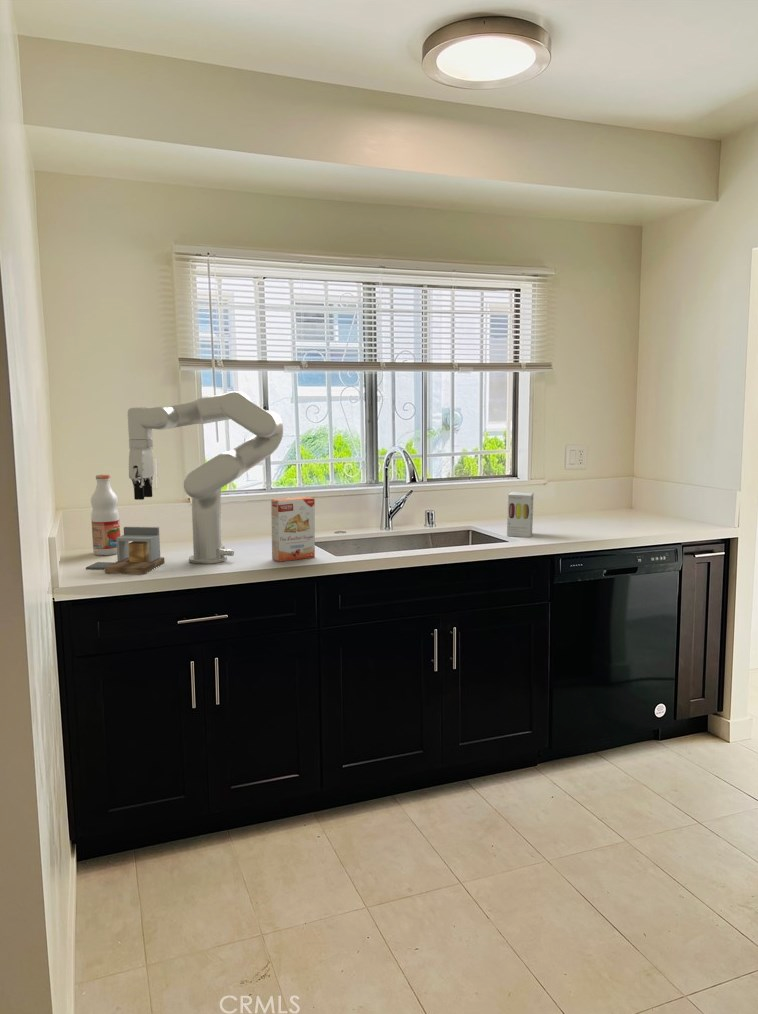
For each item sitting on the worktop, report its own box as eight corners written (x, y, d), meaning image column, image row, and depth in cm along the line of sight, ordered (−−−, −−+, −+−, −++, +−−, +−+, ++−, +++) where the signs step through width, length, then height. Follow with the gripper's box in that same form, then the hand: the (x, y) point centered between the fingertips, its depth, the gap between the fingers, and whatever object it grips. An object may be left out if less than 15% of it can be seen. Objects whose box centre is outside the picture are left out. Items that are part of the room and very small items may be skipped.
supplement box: (506, 536, 297) (507, 494, 295) (509, 532, 306) (510, 491, 304) (530, 537, 294) (531, 495, 292) (532, 533, 303) (534, 492, 301)
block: (150, 564, 249) (149, 540, 248) (144, 567, 244) (143, 543, 243) (136, 564, 249) (135, 540, 248) (129, 567, 244) (128, 543, 243)
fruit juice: (98, 550, 272) (94, 474, 268) (124, 550, 272) (120, 473, 268) (89, 556, 262) (84, 476, 258) (116, 555, 262) (112, 476, 258)
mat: (120, 564, 249) (120, 562, 249) (109, 569, 241) (109, 567, 241) (97, 563, 250) (97, 562, 250) (85, 569, 242) (85, 567, 242)
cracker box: (279, 562, 251) (277, 500, 248) (271, 559, 256) (270, 498, 253) (316, 557, 258) (315, 497, 255) (307, 554, 263) (306, 495, 260)
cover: (160, 557, 249) (159, 527, 247) (151, 561, 242) (150, 530, 240) (127, 556, 250) (125, 526, 248) (117, 561, 243) (115, 530, 241)
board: (164, 563, 250) (164, 557, 250) (144, 574, 235) (144, 567, 234) (127, 562, 252) (127, 556, 251) (105, 573, 236) (104, 567, 236)
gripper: (141, 443, 258) (143, 494, 261) (118, 446, 241) (121, 501, 244) (162, 443, 258) (164, 495, 260) (140, 446, 241) (143, 501, 243)
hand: (143, 497), depth 252 cm, fingers open, 5 cm apart
